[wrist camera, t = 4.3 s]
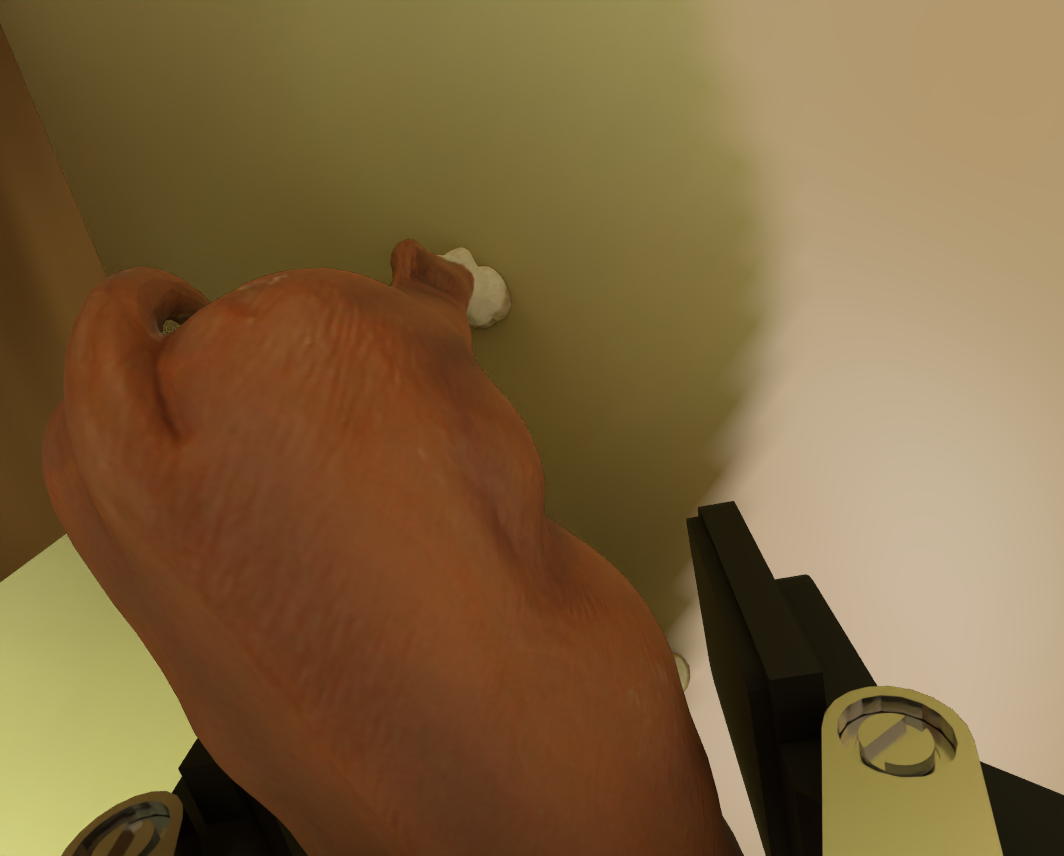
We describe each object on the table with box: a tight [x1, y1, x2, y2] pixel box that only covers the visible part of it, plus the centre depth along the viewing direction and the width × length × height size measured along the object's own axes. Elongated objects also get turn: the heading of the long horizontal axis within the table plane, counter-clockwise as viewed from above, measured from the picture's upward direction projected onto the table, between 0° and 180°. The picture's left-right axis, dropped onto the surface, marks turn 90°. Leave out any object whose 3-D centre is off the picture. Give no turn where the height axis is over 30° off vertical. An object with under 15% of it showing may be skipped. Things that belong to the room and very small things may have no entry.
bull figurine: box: [42, 239, 744, 856], centre depth 9 cm, size 4×13×8 cm, turn 21°
